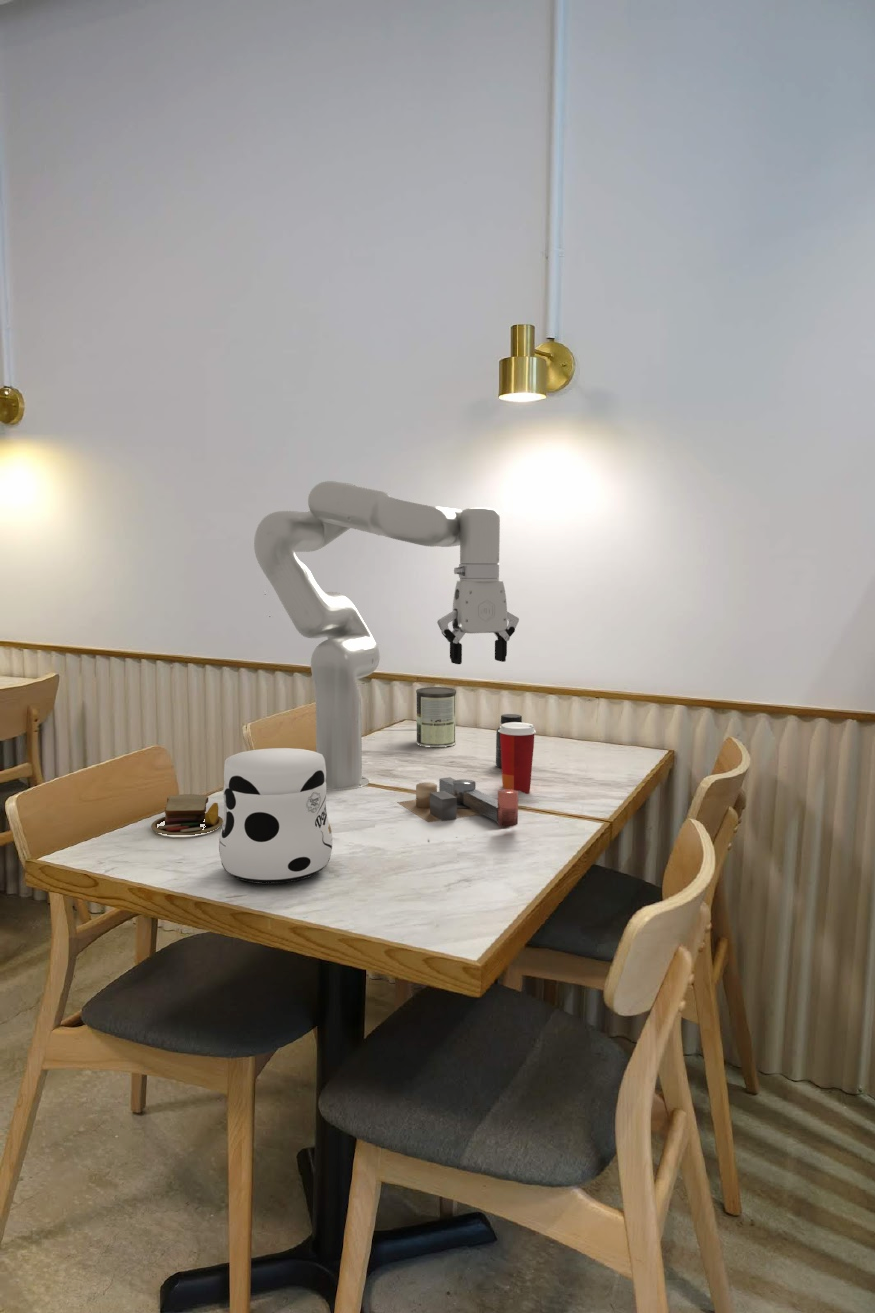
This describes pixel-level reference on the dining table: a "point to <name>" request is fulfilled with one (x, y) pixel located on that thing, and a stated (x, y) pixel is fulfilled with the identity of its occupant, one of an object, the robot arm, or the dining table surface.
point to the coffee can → (436, 716)
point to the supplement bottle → (504, 719)
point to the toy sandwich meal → (188, 816)
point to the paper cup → (517, 755)
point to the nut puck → (424, 794)
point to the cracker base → (431, 818)
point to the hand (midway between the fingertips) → (478, 662)
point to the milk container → (275, 815)
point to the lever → (484, 800)
